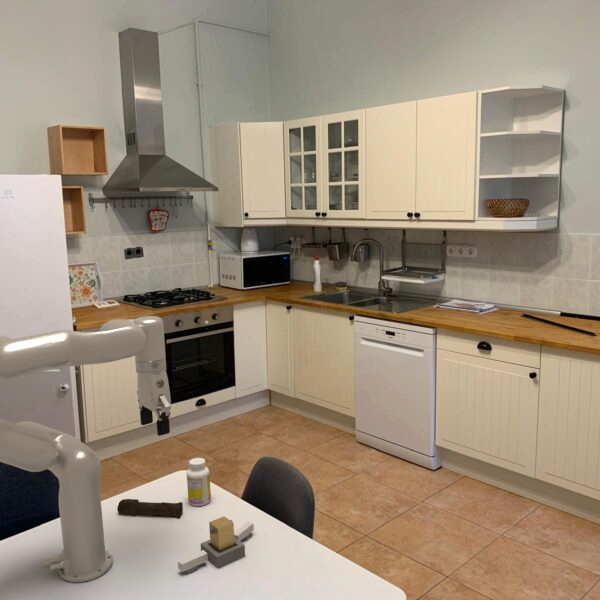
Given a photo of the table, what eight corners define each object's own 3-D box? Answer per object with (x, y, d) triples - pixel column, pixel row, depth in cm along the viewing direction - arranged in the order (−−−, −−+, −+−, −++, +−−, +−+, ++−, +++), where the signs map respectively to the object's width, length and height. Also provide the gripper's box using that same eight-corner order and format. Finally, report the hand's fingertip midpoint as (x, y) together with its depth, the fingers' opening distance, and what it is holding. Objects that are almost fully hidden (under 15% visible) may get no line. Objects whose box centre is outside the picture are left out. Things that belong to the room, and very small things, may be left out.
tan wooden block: (237, 554, 159) (236, 521, 158) (217, 563, 156) (215, 530, 154) (228, 547, 163) (227, 515, 161) (208, 556, 159) (206, 523, 157)
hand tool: (184, 512, 181) (183, 497, 180) (179, 519, 177) (178, 504, 177) (122, 509, 184) (120, 495, 183) (116, 516, 180) (115, 501, 179)
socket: (269, 544, 163) (269, 534, 163) (188, 581, 149) (188, 570, 148) (249, 530, 170) (249, 520, 170) (170, 564, 156) (169, 553, 155)
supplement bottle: (203, 494, 192) (201, 454, 189) (215, 501, 187) (213, 461, 184) (184, 501, 187) (181, 460, 185) (195, 509, 182) (193, 467, 180)
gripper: (180, 369, 156) (184, 434, 159) (149, 356, 170) (153, 416, 172) (152, 375, 152) (156, 442, 154) (123, 361, 165) (127, 423, 168)
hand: (155, 428), depth 163 cm, fingers open, 9 cm apart
